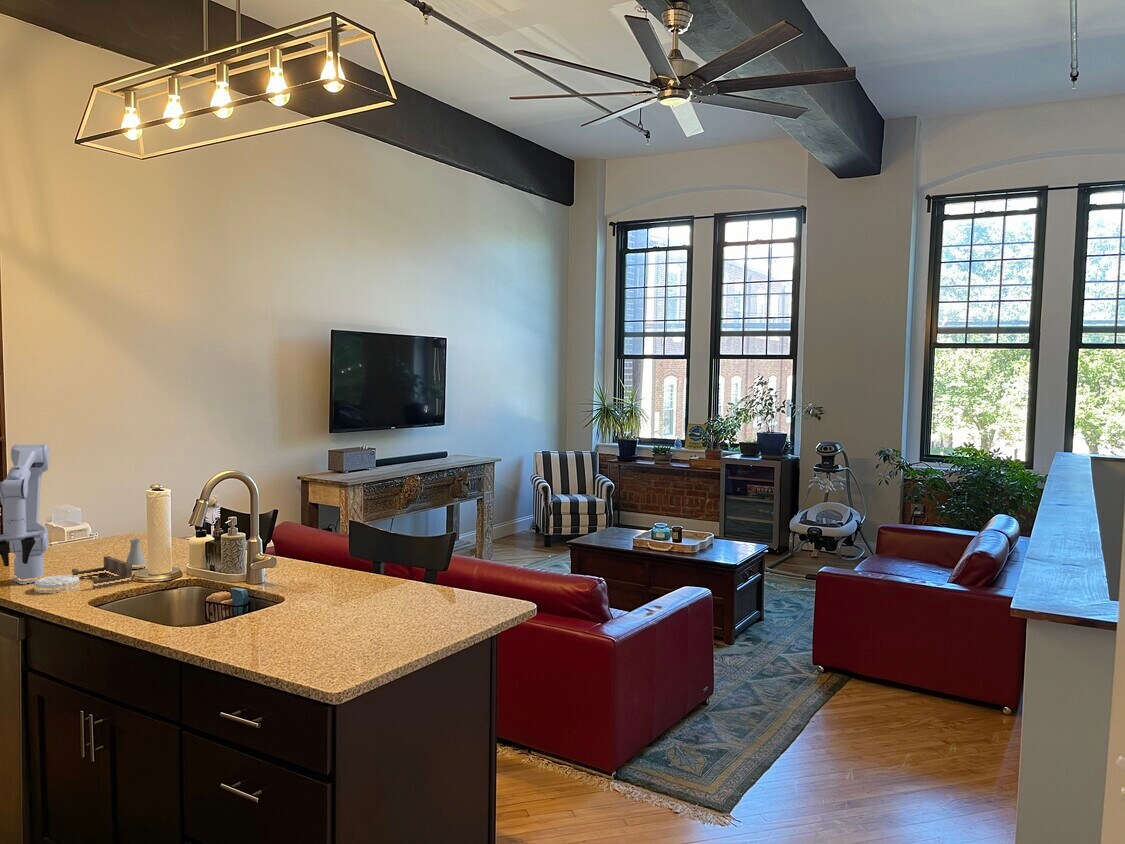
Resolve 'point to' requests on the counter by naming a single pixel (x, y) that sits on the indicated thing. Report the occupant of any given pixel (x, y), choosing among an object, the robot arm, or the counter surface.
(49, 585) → the mooncake
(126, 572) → the lid holder
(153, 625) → the counter surface
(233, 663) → the counter surface
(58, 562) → the counter surface
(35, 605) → the counter surface
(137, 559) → the flask
